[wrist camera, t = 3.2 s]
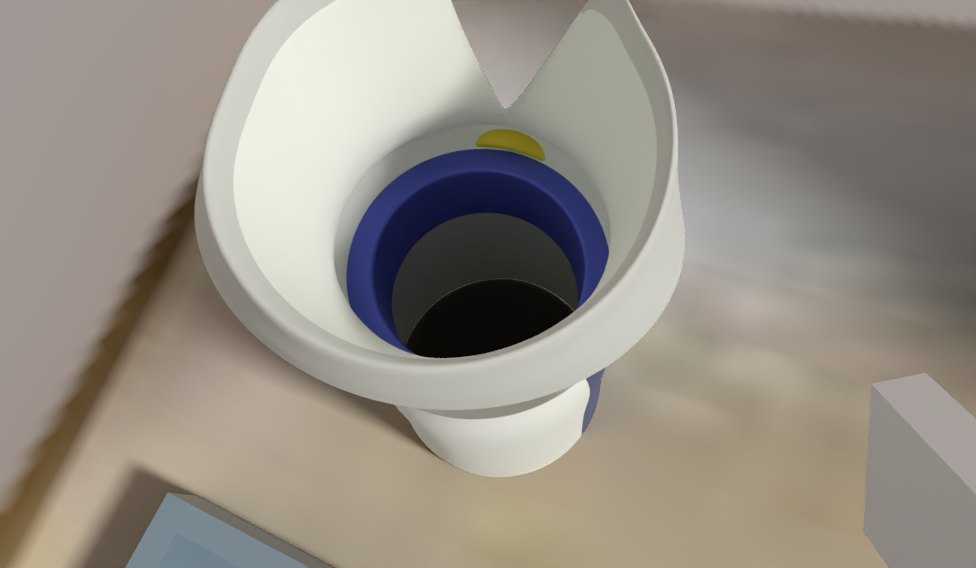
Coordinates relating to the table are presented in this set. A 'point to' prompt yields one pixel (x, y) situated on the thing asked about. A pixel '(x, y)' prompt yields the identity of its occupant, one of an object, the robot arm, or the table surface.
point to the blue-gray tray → (211, 540)
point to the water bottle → (443, 211)
